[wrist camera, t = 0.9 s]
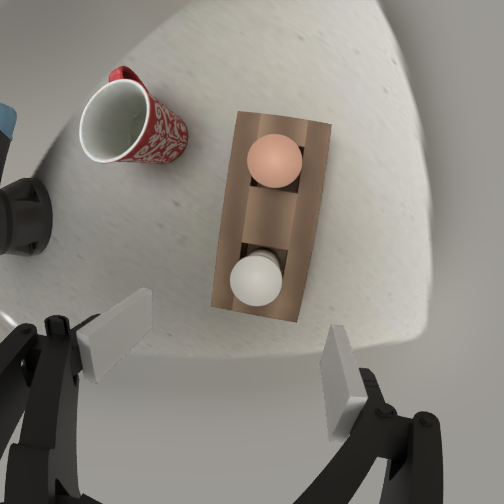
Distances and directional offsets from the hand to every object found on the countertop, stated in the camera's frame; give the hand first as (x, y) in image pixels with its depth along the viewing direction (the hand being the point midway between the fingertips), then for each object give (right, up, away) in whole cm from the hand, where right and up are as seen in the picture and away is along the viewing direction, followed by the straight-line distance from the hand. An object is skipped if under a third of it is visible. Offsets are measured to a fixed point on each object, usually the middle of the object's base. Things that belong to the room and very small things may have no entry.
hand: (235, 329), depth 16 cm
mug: (-12, +22, +20) cm, 32 cm away
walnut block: (+4, +9, +20) cm, 23 cm away
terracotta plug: (+4, +14, +14) cm, 20 cm away
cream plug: (+2, +3, +16) cm, 17 cm away
